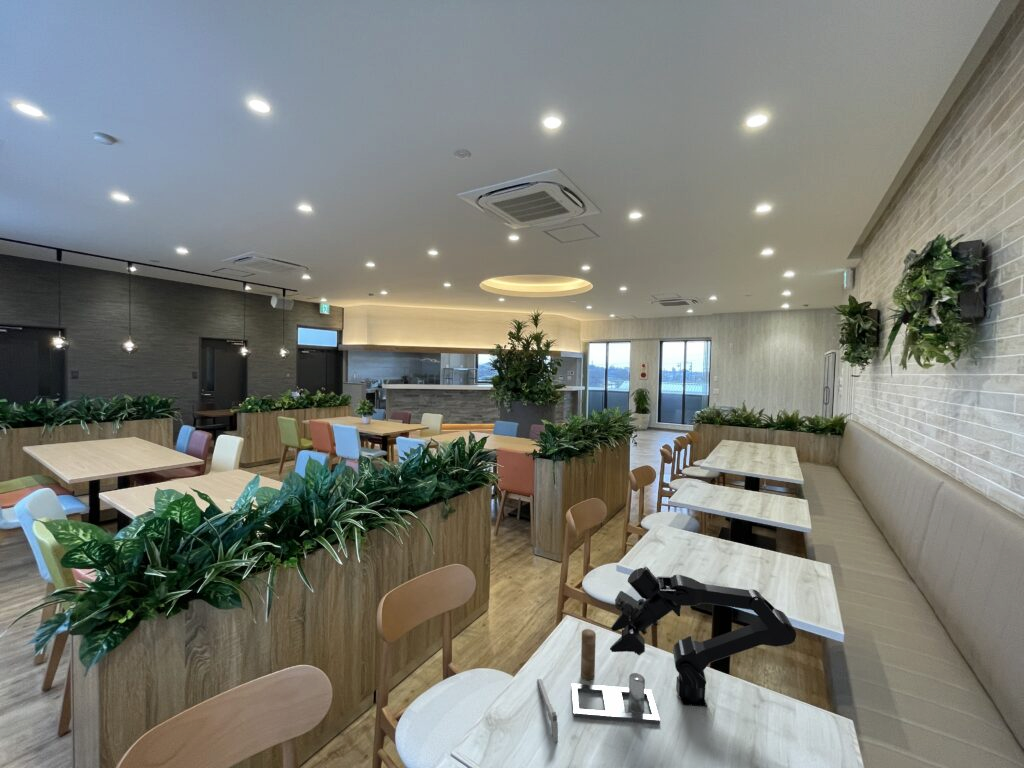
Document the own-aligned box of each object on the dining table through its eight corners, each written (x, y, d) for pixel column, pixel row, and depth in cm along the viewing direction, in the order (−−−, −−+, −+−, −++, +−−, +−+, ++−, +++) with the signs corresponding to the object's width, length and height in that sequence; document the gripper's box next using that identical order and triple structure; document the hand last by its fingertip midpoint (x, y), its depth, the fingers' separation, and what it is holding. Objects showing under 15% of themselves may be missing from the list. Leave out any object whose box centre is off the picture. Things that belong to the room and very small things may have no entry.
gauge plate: (650, 693, 119) (650, 689, 118) (659, 724, 109) (660, 720, 109) (571, 687, 120) (571, 683, 120) (573, 717, 110) (573, 712, 110)
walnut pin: (593, 671, 127) (594, 629, 126) (595, 681, 123) (596, 638, 122) (580, 670, 127) (581, 628, 126) (581, 680, 123) (582, 637, 122)
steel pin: (642, 701, 116) (643, 673, 115) (645, 713, 112) (646, 685, 111) (627, 700, 116) (628, 672, 116) (629, 712, 112) (630, 683, 112)
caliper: (558, 744, 103) (558, 719, 103) (553, 744, 103) (554, 720, 103) (540, 680, 123) (540, 659, 123) (536, 680, 123) (537, 660, 123)
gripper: (632, 570, 129) (594, 599, 132) (633, 605, 111) (589, 637, 115) (658, 599, 127) (619, 628, 131) (663, 639, 109) (618, 671, 113)
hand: (611, 639), depth 122 cm, fingers open, 9 cm apart
